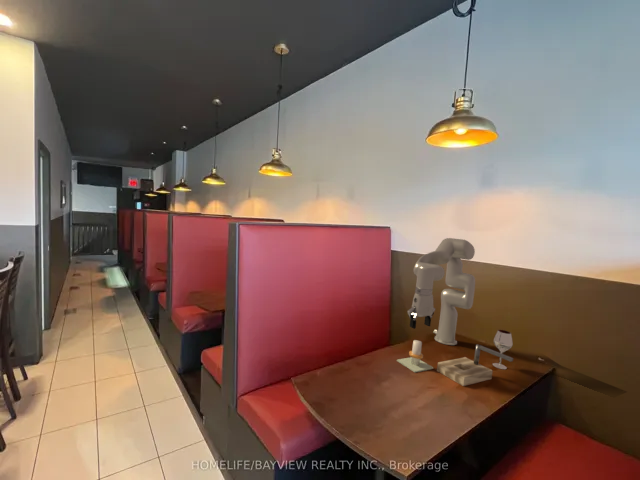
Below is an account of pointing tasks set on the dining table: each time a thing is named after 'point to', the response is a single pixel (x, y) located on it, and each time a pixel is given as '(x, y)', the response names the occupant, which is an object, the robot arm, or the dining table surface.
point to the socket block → (464, 371)
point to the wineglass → (502, 345)
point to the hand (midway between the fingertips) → (419, 326)
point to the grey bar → (477, 352)
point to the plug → (416, 352)
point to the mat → (414, 368)
